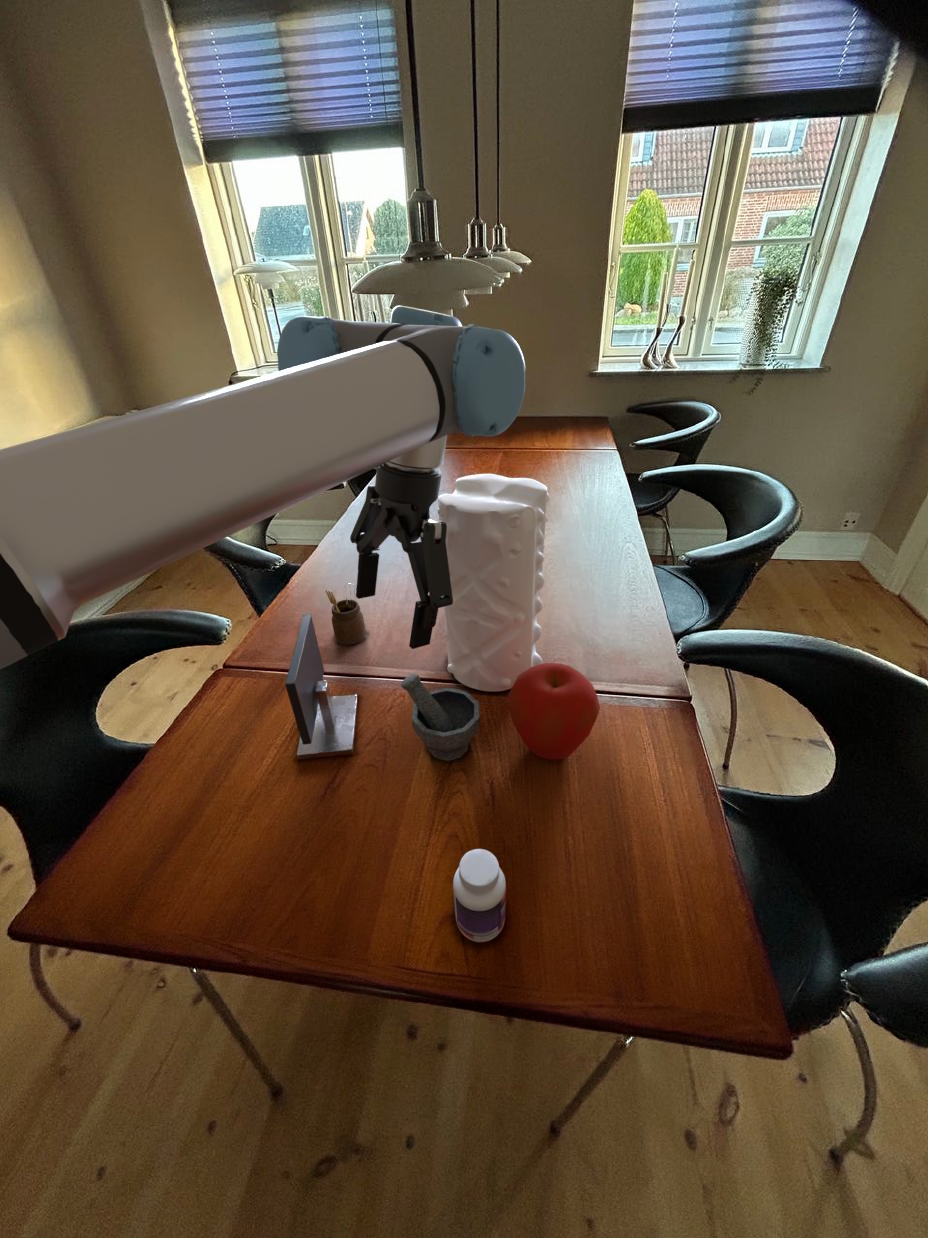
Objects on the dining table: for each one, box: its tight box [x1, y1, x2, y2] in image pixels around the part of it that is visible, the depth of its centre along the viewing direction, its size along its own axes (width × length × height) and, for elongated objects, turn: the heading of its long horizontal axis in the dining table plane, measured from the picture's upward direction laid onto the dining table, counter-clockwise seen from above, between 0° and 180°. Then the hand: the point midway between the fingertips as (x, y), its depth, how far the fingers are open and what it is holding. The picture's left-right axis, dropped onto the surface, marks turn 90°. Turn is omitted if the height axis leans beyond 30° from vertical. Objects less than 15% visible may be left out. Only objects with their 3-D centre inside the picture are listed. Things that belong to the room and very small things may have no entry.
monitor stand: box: [296, 679, 359, 761], centre depth 80 cm, size 8×12×8 cm, turn 6°
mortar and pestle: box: [401, 673, 480, 762], centre depth 76 cm, size 11×9×12 cm
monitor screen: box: [284, 614, 325, 745], centre depth 76 cm, size 1×16×11 cm, turn 6°
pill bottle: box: [452, 848, 507, 943], centre depth 55 cm, size 5×5×10 cm
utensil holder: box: [325, 582, 367, 646], centre depth 99 cm, size 6×6×12 cm
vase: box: [437, 473, 551, 692], centre depth 85 cm, size 17×16×32 cm
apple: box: [506, 662, 601, 760], centre depth 74 cm, size 12×12×14 cm
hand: (390, 619), depth 72 cm, fingers open, 13 cm apart
